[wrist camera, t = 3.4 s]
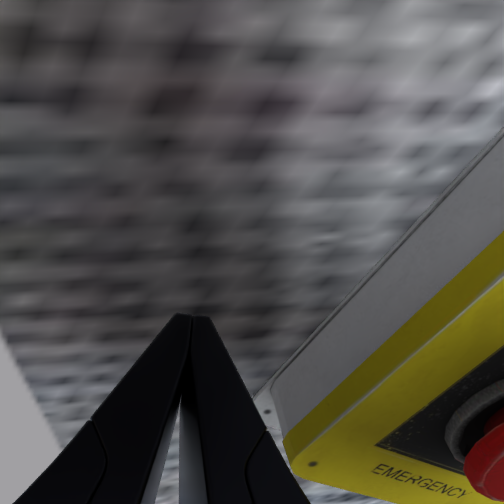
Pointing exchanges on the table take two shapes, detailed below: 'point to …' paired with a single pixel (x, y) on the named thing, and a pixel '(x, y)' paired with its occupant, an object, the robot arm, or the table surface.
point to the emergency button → (410, 362)
